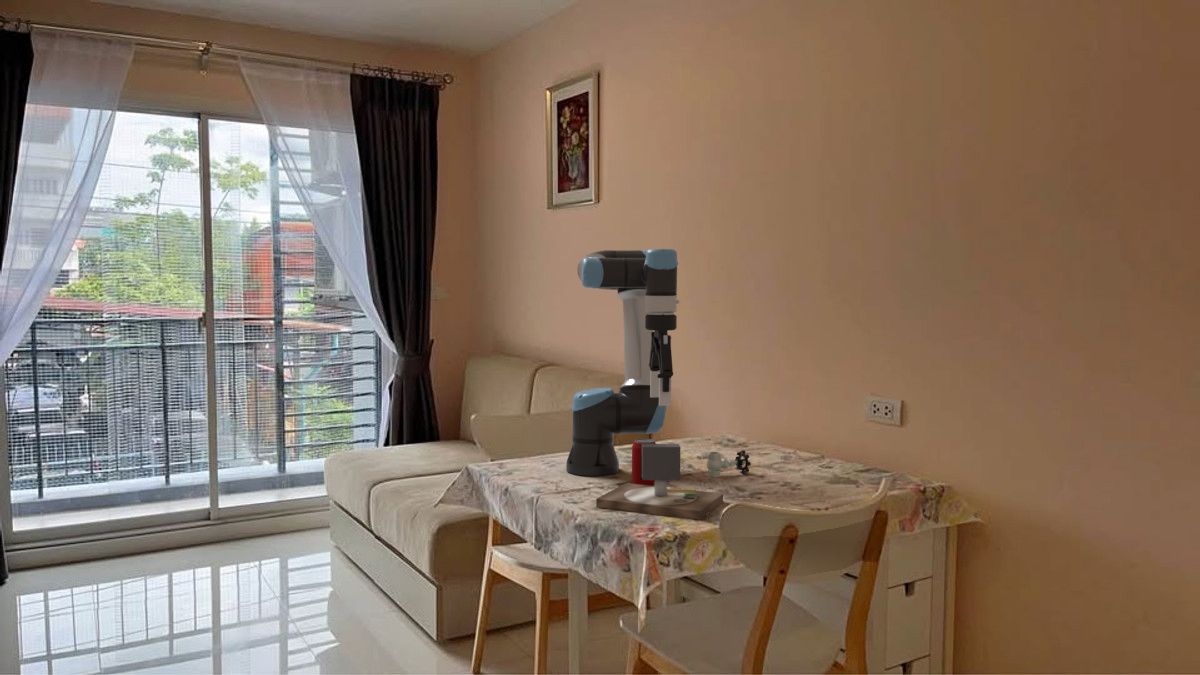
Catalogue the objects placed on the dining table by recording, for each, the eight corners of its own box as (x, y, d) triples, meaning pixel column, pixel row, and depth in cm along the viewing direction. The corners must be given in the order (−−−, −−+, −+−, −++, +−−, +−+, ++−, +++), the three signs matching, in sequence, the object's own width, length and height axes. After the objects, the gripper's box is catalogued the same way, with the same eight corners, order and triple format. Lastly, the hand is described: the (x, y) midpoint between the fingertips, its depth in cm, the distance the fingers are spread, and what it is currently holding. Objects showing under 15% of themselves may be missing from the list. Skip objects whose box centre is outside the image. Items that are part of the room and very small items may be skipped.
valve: (713, 479, 235) (750, 475, 239) (714, 455, 234) (751, 452, 239) (701, 474, 241) (737, 471, 245) (701, 451, 240) (738, 448, 245)
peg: (642, 496, 205) (642, 447, 204) (641, 492, 209) (641, 443, 208) (696, 496, 205) (697, 447, 205) (694, 492, 209) (694, 443, 209)
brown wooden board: (596, 506, 205) (596, 496, 204) (625, 490, 221) (625, 481, 221) (700, 519, 194) (700, 508, 194) (723, 501, 210) (723, 491, 210)
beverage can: (649, 489, 223) (649, 443, 222) (627, 485, 226) (627, 441, 225) (661, 484, 228) (662, 439, 228) (639, 481, 232) (639, 437, 231)
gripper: (686, 316, 193) (685, 409, 195) (667, 311, 218) (666, 393, 219) (653, 316, 192) (652, 409, 194) (638, 311, 217) (637, 394, 219)
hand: (660, 401), depth 207 cm, fingers open, 13 cm apart
